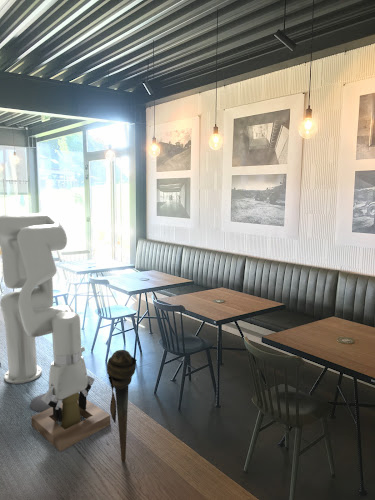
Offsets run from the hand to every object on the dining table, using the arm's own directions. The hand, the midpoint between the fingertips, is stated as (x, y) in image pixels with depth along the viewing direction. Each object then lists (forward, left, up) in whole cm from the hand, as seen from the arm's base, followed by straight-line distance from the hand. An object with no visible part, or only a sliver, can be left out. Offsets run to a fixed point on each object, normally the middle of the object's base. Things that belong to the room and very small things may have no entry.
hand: (70, 413), depth 113 cm
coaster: (-16, +1, -4) cm, 16 cm away
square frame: (0, 0, -4) cm, 4 cm away
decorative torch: (+23, +1, -4) cm, 23 cm away
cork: (0, 0, -4) cm, 4 cm away
